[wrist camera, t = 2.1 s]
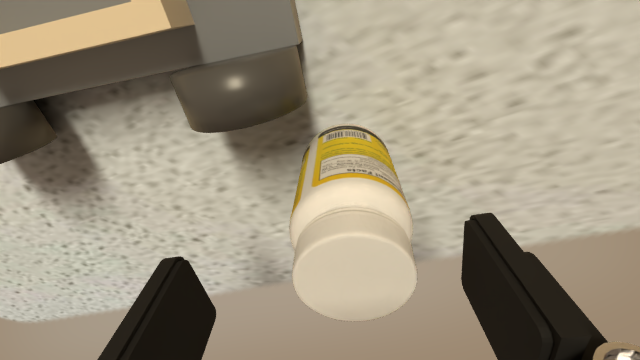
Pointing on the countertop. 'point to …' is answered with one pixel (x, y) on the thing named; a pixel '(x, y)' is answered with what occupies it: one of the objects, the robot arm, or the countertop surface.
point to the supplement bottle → (351, 228)
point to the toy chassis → (149, 59)
